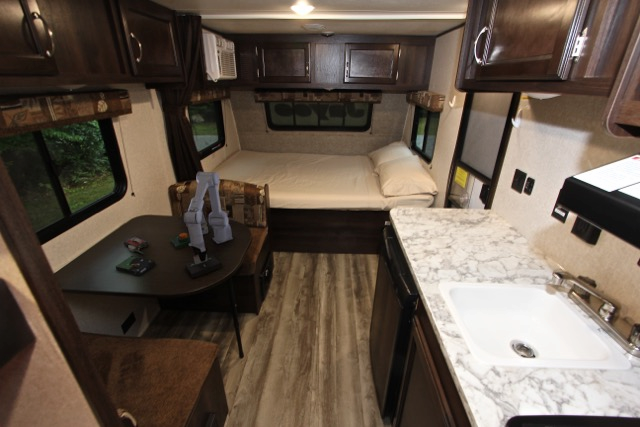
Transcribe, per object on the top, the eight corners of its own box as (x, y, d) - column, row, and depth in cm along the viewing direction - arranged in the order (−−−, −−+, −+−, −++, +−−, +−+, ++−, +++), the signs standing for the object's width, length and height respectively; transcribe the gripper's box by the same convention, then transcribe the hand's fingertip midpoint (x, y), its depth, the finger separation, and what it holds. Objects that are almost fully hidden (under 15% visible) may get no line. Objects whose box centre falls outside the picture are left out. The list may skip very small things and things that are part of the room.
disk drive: (156, 264, 150) (133, 259, 154) (155, 260, 149) (132, 255, 153) (139, 276, 141) (115, 270, 145) (138, 272, 140) (114, 266, 144)
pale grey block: (206, 258, 150) (205, 251, 149) (207, 260, 149) (206, 253, 147) (194, 263, 147) (193, 256, 145) (195, 264, 146) (194, 257, 144)
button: (186, 234, 171) (185, 232, 171) (188, 237, 169) (187, 234, 168) (179, 236, 169) (178, 234, 168) (181, 239, 166) (180, 236, 166)
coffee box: (209, 232, 181) (205, 209, 174) (198, 236, 177) (194, 212, 170) (203, 227, 187) (199, 204, 180) (193, 230, 183) (188, 207, 177)
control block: (192, 236, 177) (191, 230, 176) (198, 242, 171) (197, 236, 169) (171, 242, 170) (170, 236, 169) (176, 249, 164) (175, 243, 162)
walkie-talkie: (120, 246, 165) (142, 256, 157) (118, 240, 163) (140, 249, 155) (135, 240, 172) (157, 249, 164) (133, 233, 170) (155, 242, 162)
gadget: (211, 257, 157) (210, 252, 156) (220, 267, 149) (220, 262, 147) (184, 267, 149) (183, 262, 147) (193, 278, 140) (191, 273, 139)
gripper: (182, 230, 144) (187, 254, 150) (192, 242, 134) (197, 267, 140) (196, 226, 148) (201, 249, 154) (207, 237, 138) (211, 261, 144)
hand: (200, 257), depth 147 cm, fingers open, 7 cm apart
